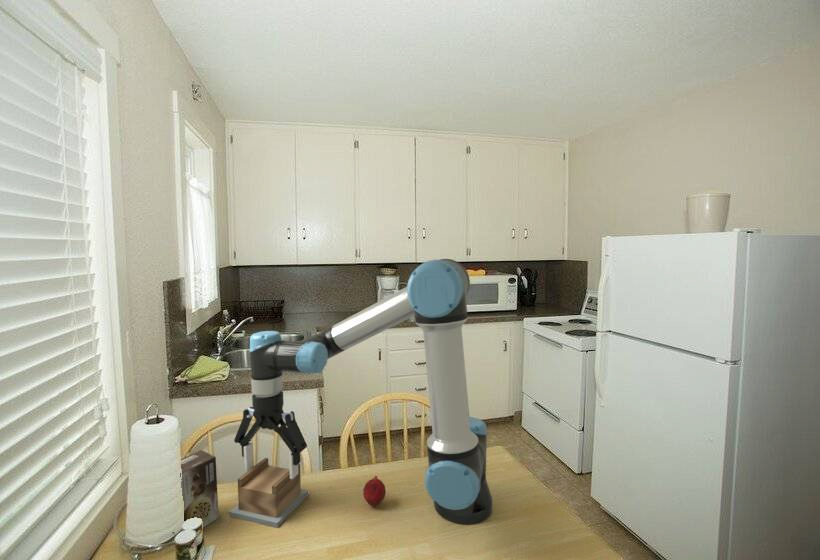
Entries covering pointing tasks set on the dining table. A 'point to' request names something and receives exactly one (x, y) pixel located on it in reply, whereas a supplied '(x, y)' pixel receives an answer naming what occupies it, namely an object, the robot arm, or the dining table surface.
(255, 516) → the base board
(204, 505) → the coffee box
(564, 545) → the dining table surface
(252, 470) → the wooden channel block
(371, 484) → the onion
